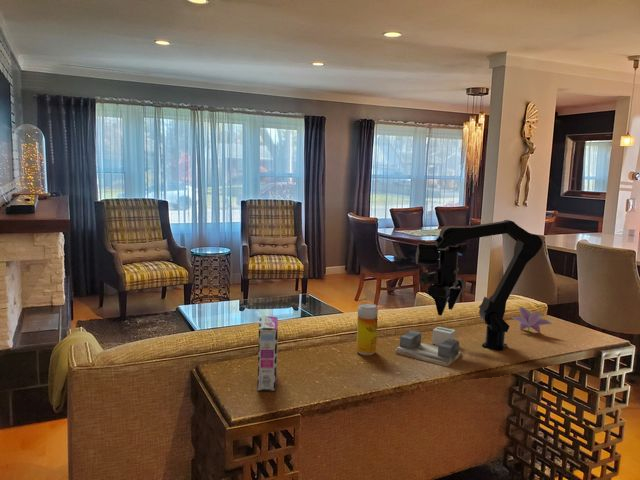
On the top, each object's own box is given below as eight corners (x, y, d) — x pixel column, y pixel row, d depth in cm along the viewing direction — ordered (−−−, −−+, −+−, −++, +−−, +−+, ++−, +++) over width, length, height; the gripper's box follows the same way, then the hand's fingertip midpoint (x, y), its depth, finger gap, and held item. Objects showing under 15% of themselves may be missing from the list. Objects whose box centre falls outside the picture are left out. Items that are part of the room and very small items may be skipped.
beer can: (374, 356, 153) (377, 308, 151) (355, 354, 155) (356, 307, 153) (376, 350, 159) (378, 303, 157) (357, 348, 161) (359, 302, 159)
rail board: (412, 343, 166) (413, 328, 166) (461, 355, 157) (462, 339, 156) (395, 353, 157) (396, 338, 156) (446, 366, 147) (447, 350, 147)
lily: (554, 341, 176) (555, 314, 179) (535, 332, 170) (536, 305, 173) (524, 342, 185) (525, 316, 189) (504, 334, 180) (505, 308, 183)
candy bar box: (277, 391, 128) (277, 328, 125) (257, 391, 127) (257, 328, 125) (277, 373, 139) (277, 315, 136) (258, 374, 138) (259, 315, 136)
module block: (437, 340, 170) (438, 325, 169) (454, 344, 167) (455, 329, 166) (432, 344, 166) (432, 328, 166) (449, 348, 163) (450, 332, 162)
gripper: (435, 258, 175) (432, 302, 177) (412, 266, 160) (410, 313, 162) (467, 262, 169) (464, 308, 171) (446, 270, 153) (443, 320, 156)
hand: (445, 312), depth 165 cm, fingers open, 9 cm apart
